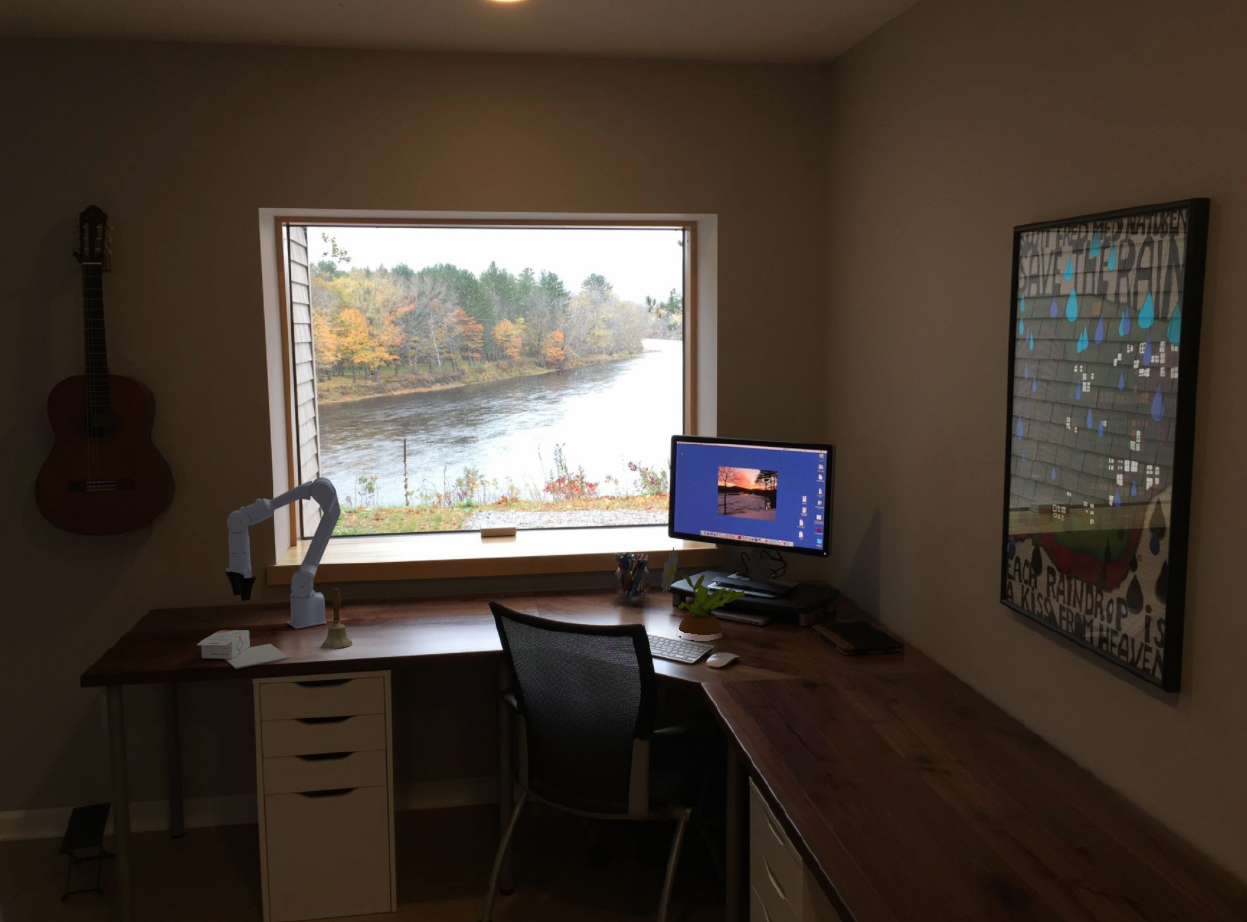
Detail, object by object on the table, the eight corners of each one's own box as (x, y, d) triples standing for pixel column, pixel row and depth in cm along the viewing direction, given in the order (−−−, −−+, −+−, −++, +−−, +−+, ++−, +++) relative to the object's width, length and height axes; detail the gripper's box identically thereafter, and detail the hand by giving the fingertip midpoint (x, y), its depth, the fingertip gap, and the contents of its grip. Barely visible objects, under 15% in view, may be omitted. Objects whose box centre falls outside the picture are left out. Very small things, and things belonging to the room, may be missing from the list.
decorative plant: (675, 620, 316) (676, 538, 313) (754, 627, 308) (755, 543, 305) (647, 645, 291) (647, 557, 288) (733, 654, 283) (733, 563, 280)
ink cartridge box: (220, 647, 291) (195, 662, 277) (219, 629, 291) (194, 643, 276) (250, 647, 291) (227, 662, 276) (249, 629, 290) (226, 643, 276)
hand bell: (337, 638, 299) (335, 584, 297) (359, 643, 295) (356, 587, 293) (315, 646, 292) (313, 590, 290) (337, 651, 288) (334, 594, 286)
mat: (270, 645, 293) (270, 643, 293) (289, 658, 281) (288, 657, 281) (218, 654, 285) (218, 653, 285) (235, 668, 273) (235, 667, 273)
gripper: (218, 549, 310) (220, 594, 312) (233, 558, 298) (235, 604, 300) (242, 546, 314) (244, 591, 316) (258, 554, 302) (260, 600, 304)
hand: (241, 597), depth 308 cm, fingers open, 7 cm apart
